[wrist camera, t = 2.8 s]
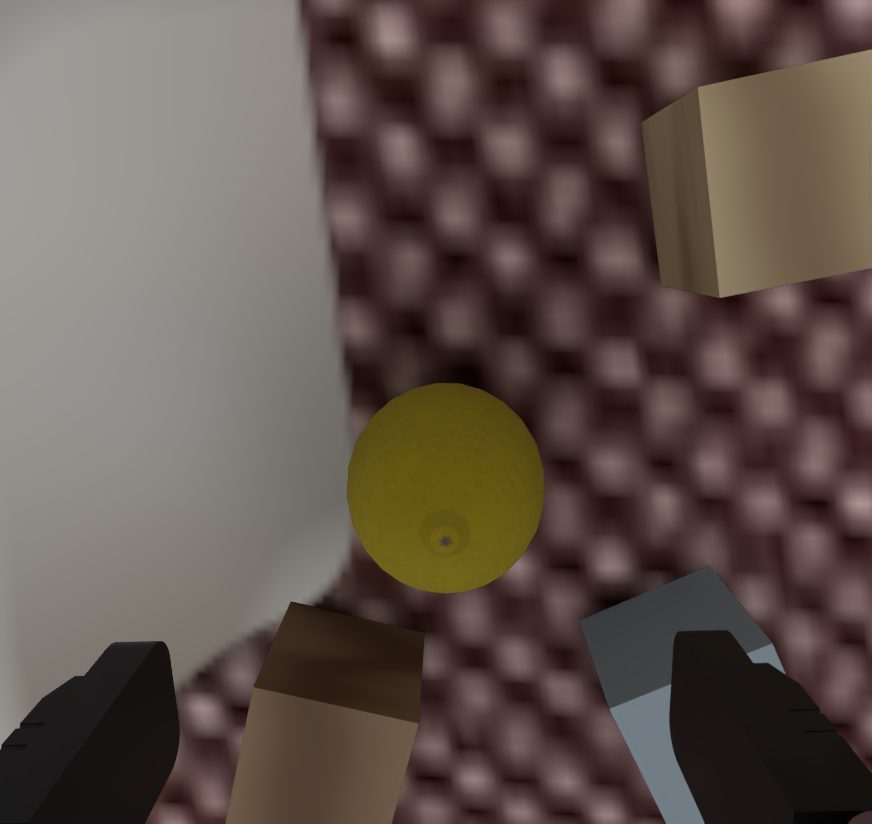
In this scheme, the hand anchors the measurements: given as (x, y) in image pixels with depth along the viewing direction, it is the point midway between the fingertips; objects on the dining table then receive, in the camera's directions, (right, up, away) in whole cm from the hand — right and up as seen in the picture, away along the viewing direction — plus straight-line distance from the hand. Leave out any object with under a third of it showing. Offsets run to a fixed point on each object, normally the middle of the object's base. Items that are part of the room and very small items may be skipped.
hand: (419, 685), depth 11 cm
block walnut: (-3, -5, +15) cm, 16 cm away
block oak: (+9, +11, +11) cm, 18 cm away
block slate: (+9, -4, +14) cm, 17 cm away
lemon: (+1, +3, +13) cm, 13 cm away
